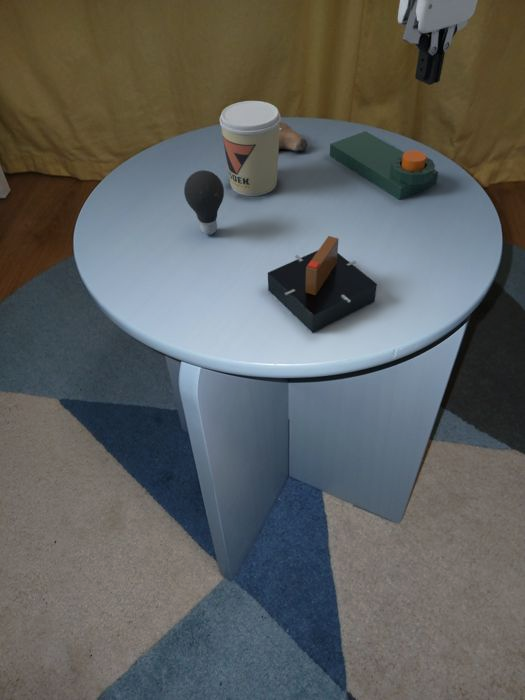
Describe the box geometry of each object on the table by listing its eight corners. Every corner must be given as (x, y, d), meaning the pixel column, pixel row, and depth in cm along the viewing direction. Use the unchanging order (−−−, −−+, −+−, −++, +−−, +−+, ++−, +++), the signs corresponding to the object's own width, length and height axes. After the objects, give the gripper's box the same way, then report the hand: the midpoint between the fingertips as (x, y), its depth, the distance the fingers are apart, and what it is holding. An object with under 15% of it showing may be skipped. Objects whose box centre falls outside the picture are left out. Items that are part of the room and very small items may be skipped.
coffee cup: (214, 183, 93) (207, 112, 85) (258, 164, 97) (255, 94, 88) (248, 205, 88) (244, 132, 80) (293, 184, 92) (293, 113, 83)
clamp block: (381, 302, 72) (384, 283, 69) (311, 338, 68) (312, 319, 65) (328, 259, 78) (329, 240, 76) (261, 289, 74) (260, 270, 72)
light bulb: (185, 241, 82) (174, 180, 75) (199, 220, 86) (190, 160, 79) (220, 247, 81) (213, 185, 74) (233, 225, 85) (227, 165, 77)
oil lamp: (268, 165, 98) (309, 157, 100) (268, 145, 95) (311, 137, 97) (251, 138, 103) (291, 130, 105) (251, 118, 100) (292, 110, 102)
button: (429, 167, 87) (431, 156, 86) (412, 174, 86) (414, 163, 85) (413, 158, 89) (415, 147, 88) (396, 165, 88) (398, 154, 87)
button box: (441, 187, 90) (446, 164, 87) (404, 203, 87) (408, 180, 84) (364, 142, 101) (366, 121, 98) (329, 155, 98) (330, 133, 95)
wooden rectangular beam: (326, 260, 73) (328, 234, 70) (336, 263, 73) (338, 236, 70) (305, 292, 69) (305, 265, 66) (315, 295, 68) (316, 268, 65)
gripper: (475, -95, 70) (445, 60, 83) (385, -77, 64) (368, 85, 78) (524, -87, 65) (484, 75, 79) (432, -66, 60) (405, 103, 74)
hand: (426, 80), depth 78 cm, fingers closed
